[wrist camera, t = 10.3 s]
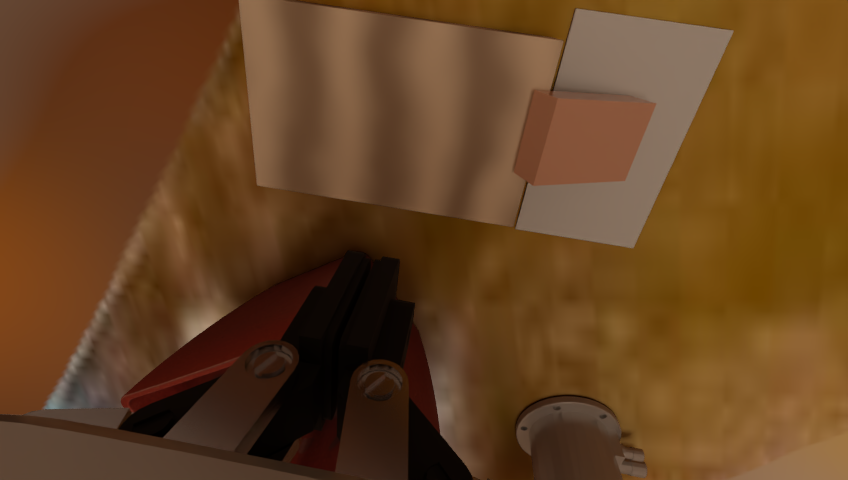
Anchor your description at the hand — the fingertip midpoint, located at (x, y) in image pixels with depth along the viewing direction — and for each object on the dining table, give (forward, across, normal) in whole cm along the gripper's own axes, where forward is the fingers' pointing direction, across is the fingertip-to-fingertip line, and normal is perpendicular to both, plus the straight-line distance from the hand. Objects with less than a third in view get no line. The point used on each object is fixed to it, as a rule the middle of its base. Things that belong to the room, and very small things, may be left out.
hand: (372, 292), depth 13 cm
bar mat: (+24, -14, -1) cm, 28 cm away
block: (+21, -10, -2) cm, 24 cm away
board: (+24, +3, -1) cm, 24 cm away
